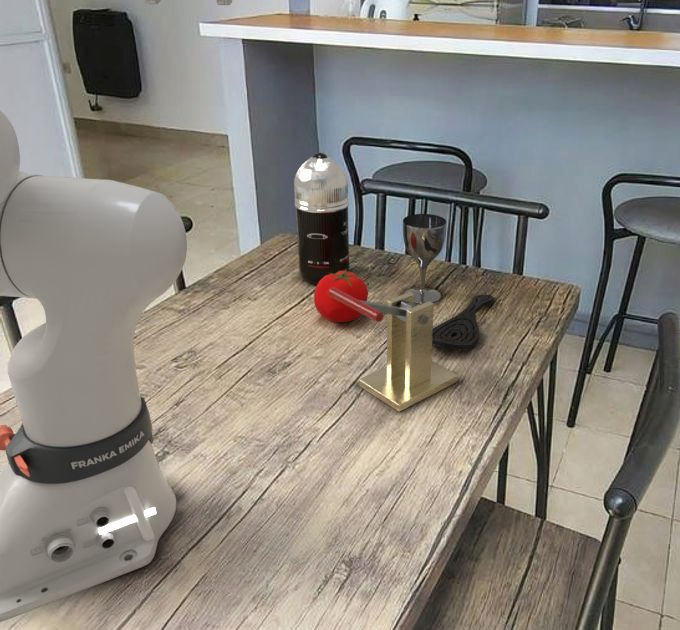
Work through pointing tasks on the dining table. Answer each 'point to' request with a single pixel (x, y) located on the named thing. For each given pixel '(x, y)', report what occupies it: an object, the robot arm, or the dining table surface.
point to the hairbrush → (461, 326)
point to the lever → (371, 306)
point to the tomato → (333, 307)
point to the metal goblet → (424, 248)
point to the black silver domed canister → (321, 218)
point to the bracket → (408, 359)
